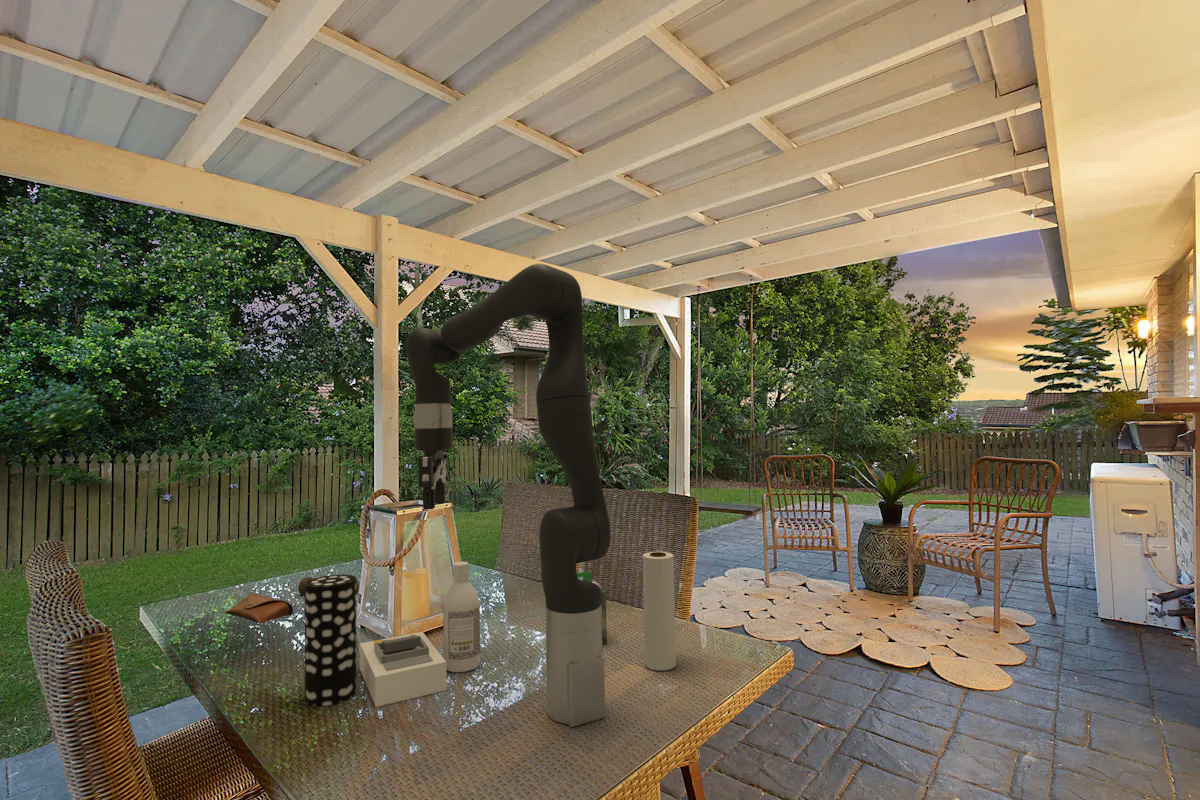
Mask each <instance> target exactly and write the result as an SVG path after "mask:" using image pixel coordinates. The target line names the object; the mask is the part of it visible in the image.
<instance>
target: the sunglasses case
mask: <svg viewBox="0 0 1200 800" xmlns="http://www.w3.org/2000/svg"><path fill="white" fill-rule="evenodd" d="M293 612H294V607H293V605H292V604H291V603H290V602H289V601H287V600H283V599H276V598H273V597H270V596H265V595H260V594H256V593H254V592H252V591H251V592H250V594H249V595H248V596H247V595H246V597H244V598H243V599H241V600H240V601H239V602H237V603H236V604H235V605H233V606H232V607H230V608H229V609H228V610H226V611H224V614H229V615H234V616H236V617H241V618H243V619H248V620H251V621H253V622H256V623H259V624H263V623H267V622H270V621H274V620H277V619H280V618H283V617H287V616H292V615H293Z"/></svg>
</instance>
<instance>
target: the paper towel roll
mask: <svg viewBox="0 0 1200 800" xmlns="http://www.w3.org/2000/svg"><path fill="white" fill-rule="evenodd" d="M674 566H675V562H674V554H673V553H671V552H667V551H662V550H659V549H655V551H651V552H650V551H649V552H645V553H643V554H642V577H643V578H642V584H643V585H642V586H643V623H644V624H643V627H644V628H643V632H644V634H643V636H644V637H643V638H644V642H643V643H644V665H645V667H646V668H648V669H649V670H652V671H657V672H658V671H662V672H663V671H669V670H672V669H674V668H675V667H676V665H677V658H676V657H677V654H676V611H675V610H676V606H675V605H676V604H675V601H676V599H675V567H674Z"/></svg>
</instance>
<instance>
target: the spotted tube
mask: <svg viewBox="0 0 1200 800" xmlns="http://www.w3.org/2000/svg"><path fill="white" fill-rule="evenodd" d="M356 579H357V577H356V576H355V575H352V574H330V575H324V576H319V577H314V578H313V579H311V580H309V581H307V582H305V596H304V701H305V702H304V703H306V704H307V705H309V706H313V707H325V706H331V705H337V704H340V703H342V702H345V701H347V700H349V699H350V698H351V699H352V697H354V696H355V695H356V693H357V595H356Z"/></svg>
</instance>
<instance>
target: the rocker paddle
mask: <svg viewBox="0 0 1200 800" xmlns="http://www.w3.org/2000/svg"><path fill="white" fill-rule="evenodd" d="M419 646H421V640H420V637H419V636H416V635H411V636H405V637H400V638H394V639H389V640H384V641H382V650H383V651H385V652H386V653H389V652H394V651H399V650H404V649H409V648H414V647H419Z"/></svg>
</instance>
